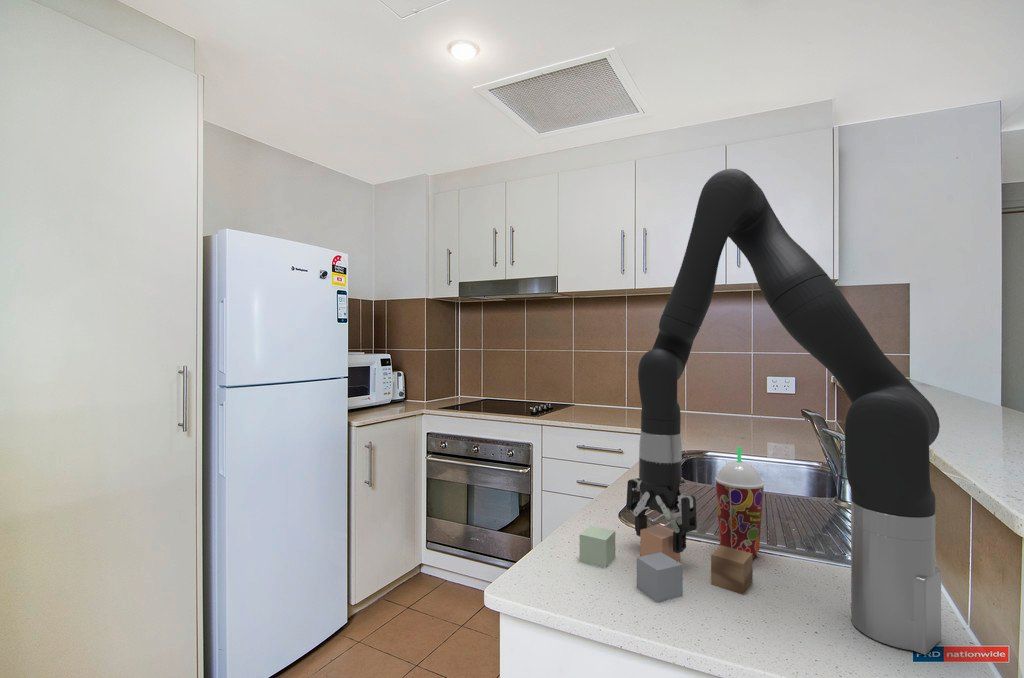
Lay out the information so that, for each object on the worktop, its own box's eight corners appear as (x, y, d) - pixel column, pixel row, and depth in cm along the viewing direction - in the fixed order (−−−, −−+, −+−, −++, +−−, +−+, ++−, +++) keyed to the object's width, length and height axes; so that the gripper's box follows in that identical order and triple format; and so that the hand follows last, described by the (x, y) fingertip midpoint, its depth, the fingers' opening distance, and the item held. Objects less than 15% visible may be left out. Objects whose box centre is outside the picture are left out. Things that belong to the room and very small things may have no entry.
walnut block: (752, 583, 82) (752, 553, 82) (743, 595, 78) (743, 563, 78) (721, 574, 85) (721, 545, 85) (711, 585, 81) (711, 554, 81)
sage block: (615, 557, 91) (615, 530, 91) (605, 568, 87) (605, 540, 87) (589, 551, 94) (590, 525, 94) (579, 561, 90) (579, 534, 90)
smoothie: (758, 567, 87) (758, 454, 87) (709, 554, 92) (709, 447, 92) (767, 551, 94) (768, 446, 94) (721, 540, 99) (721, 440, 99)
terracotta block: (680, 560, 90) (680, 532, 90) (662, 567, 88) (662, 538, 88) (658, 550, 94) (658, 524, 94) (640, 556, 92) (640, 529, 92)
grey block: (682, 596, 78) (682, 564, 78) (657, 603, 75) (657, 570, 75) (660, 582, 82) (661, 552, 82) (636, 588, 80) (636, 557, 80)
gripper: (706, 461, 87) (705, 552, 88) (644, 446, 99) (643, 526, 99) (679, 467, 83) (678, 563, 83) (617, 450, 95) (616, 534, 95)
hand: (659, 543), depth 91 cm, fingers open, 8 cm apart
